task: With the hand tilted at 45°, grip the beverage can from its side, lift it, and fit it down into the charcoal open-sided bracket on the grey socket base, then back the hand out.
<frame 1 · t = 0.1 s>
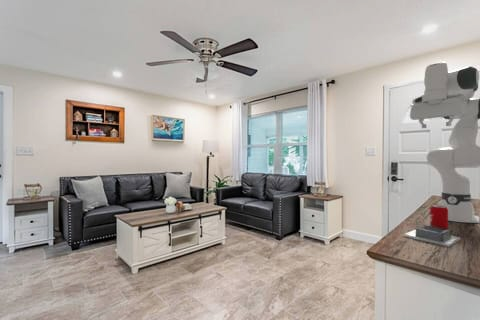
hand: (435, 127, 115), 48 cm above the counter, tool pointing down, fingers open, 8 cm apart
grey socket base: (431, 238, 102), on the counter
beverage can: (438, 232, 110), on the counter
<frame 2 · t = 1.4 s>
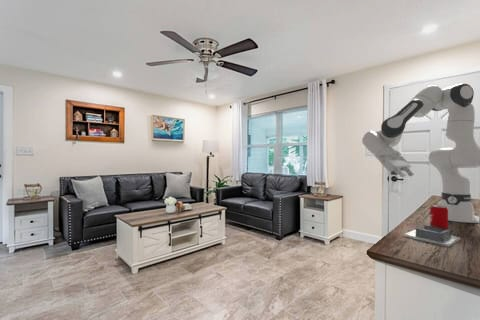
hand: (408, 176, 120), 25 cm above the counter, tool tilted 45°, fingers open, 8 cm apart
nothing on the counter moved.
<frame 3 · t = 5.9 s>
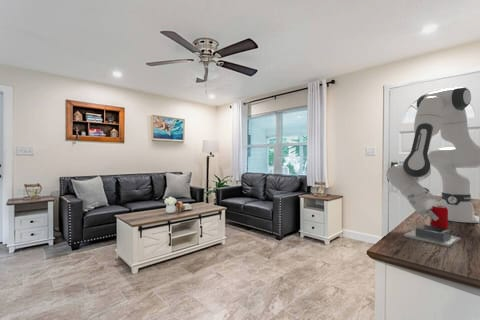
hand: (440, 218, 109), 6 cm above the counter, tool tilted 45°, fingers closed on beverage can, 6 cm apart
beverage can: (438, 232, 110), on the counter, touching gripper
when the fingers open (9 cm above the counter, at t = 11.0 s): beverage can stays where it is, resting on grey socket base.
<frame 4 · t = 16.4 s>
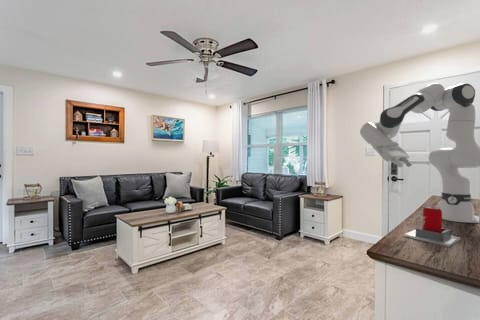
hand: (406, 166, 119), 29 cm above the counter, tool tilted 45°, fingers open, 8 cm apart
beverage can: (432, 236, 102), point 1 cm above the counter, touching grey socket base
at the end: beverage can 0.6 cm off-centre on the grey socket base, point 0.8 cm above the grey socket base's base; beverage can tilted 0°; the gripper is holding nothing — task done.
